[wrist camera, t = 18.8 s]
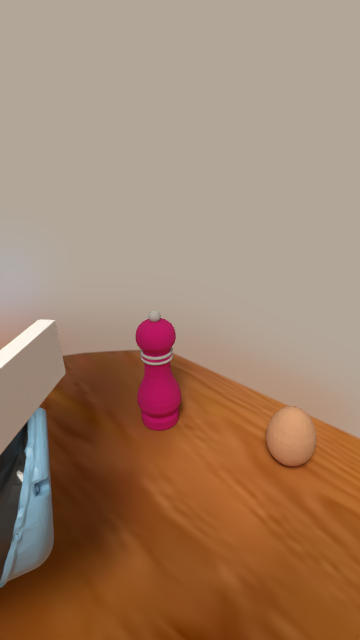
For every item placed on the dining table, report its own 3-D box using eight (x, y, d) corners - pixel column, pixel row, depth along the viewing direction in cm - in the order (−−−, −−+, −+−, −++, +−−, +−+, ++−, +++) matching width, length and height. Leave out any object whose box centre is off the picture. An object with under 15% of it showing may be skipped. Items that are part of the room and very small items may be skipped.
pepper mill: (185, 406, 59) (183, 302, 51) (176, 436, 53) (172, 323, 44) (146, 401, 61) (138, 299, 52) (133, 429, 54) (121, 319, 46)
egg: (255, 461, 48) (260, 412, 44) (276, 435, 53) (282, 388, 49) (300, 487, 44) (309, 436, 40) (318, 457, 49) (329, 407, 45)
